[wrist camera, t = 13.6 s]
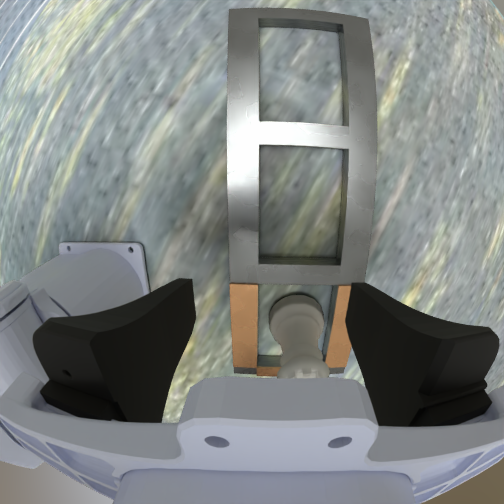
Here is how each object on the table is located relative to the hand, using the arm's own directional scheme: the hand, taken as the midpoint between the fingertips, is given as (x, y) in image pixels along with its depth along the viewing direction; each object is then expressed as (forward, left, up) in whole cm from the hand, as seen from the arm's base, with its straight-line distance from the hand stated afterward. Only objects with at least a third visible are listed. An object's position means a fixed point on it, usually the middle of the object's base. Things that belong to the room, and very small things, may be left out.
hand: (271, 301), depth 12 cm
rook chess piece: (+2, -6, -9) cm, 11 cm away
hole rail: (+2, +3, -8) cm, 9 cm away
